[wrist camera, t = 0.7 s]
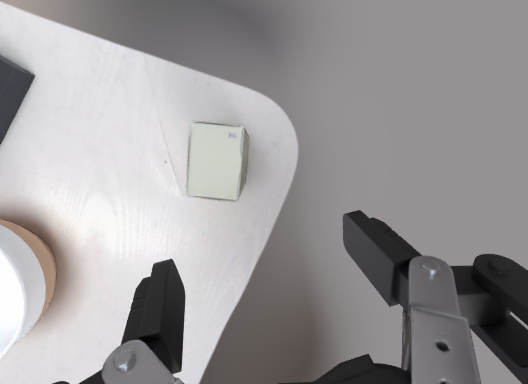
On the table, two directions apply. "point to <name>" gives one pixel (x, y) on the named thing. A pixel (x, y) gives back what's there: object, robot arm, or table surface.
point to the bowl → (23, 282)
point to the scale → (11, 91)
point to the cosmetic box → (216, 161)
